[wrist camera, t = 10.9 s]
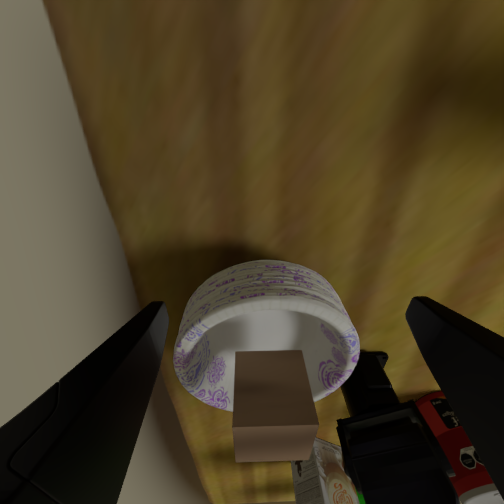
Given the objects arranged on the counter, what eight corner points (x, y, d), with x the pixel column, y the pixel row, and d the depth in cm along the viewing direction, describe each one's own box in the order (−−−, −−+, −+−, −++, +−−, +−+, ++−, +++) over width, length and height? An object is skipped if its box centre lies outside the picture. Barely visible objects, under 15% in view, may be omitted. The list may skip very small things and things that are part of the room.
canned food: (474, 392, 37) (552, 490, 28) (439, 417, 41) (498, 511, 32) (432, 385, 36) (499, 486, 26) (400, 412, 40) (449, 508, 30)
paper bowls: (344, 326, 29) (375, 395, 22) (227, 359, 31) (223, 430, 25) (311, 216, 21) (342, 269, 14) (161, 272, 24) (128, 338, 17)
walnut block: (295, 387, 21) (308, 460, 17) (237, 388, 21) (235, 462, 17) (301, 349, 18) (319, 424, 14) (235, 351, 18) (232, 427, 14)
